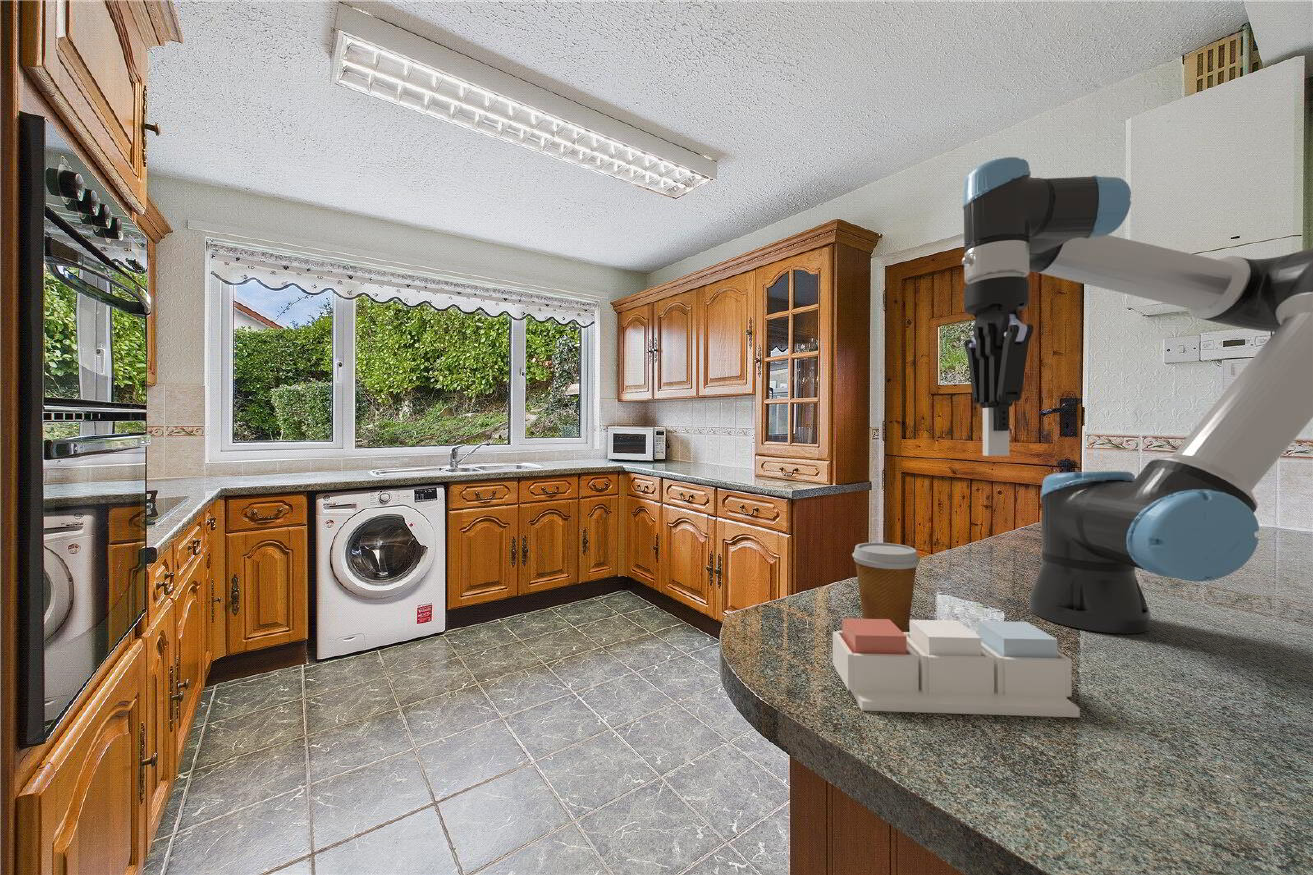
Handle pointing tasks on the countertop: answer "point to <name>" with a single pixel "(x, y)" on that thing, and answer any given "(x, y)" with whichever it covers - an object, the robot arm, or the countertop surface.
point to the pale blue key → (1017, 639)
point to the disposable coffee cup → (886, 581)
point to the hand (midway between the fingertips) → (995, 455)
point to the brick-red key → (873, 636)
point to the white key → (944, 638)
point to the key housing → (956, 682)
